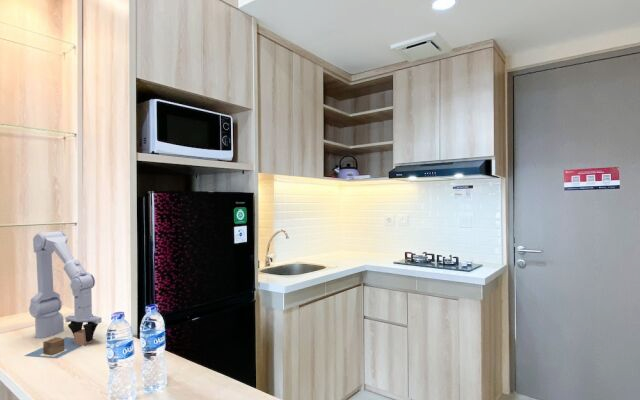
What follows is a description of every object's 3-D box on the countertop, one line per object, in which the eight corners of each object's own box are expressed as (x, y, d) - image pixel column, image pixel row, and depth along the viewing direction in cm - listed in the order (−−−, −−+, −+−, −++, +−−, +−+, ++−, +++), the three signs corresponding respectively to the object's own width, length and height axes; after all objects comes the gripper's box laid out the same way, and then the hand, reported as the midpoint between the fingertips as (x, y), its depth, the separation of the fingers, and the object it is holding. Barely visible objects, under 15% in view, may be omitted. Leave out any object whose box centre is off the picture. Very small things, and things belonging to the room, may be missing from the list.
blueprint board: (66, 339, 152) (66, 336, 152) (96, 341, 150) (96, 338, 150) (23, 358, 134) (23, 355, 134) (57, 360, 132) (57, 358, 132)
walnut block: (43, 354, 135) (43, 341, 135) (55, 349, 140) (55, 337, 140) (52, 355, 134) (52, 343, 134) (64, 350, 138) (64, 338, 138)
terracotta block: (83, 340, 149) (83, 328, 149) (93, 340, 148) (93, 329, 148) (74, 344, 144) (73, 333, 144) (84, 345, 143) (84, 333, 143)
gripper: (107, 303, 149) (107, 337, 149) (75, 302, 151) (76, 335, 151) (93, 309, 142) (93, 344, 142) (60, 307, 144) (61, 342, 144)
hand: (83, 340), depth 146 cm, fingers closed on terracotta block, 4 cm apart
